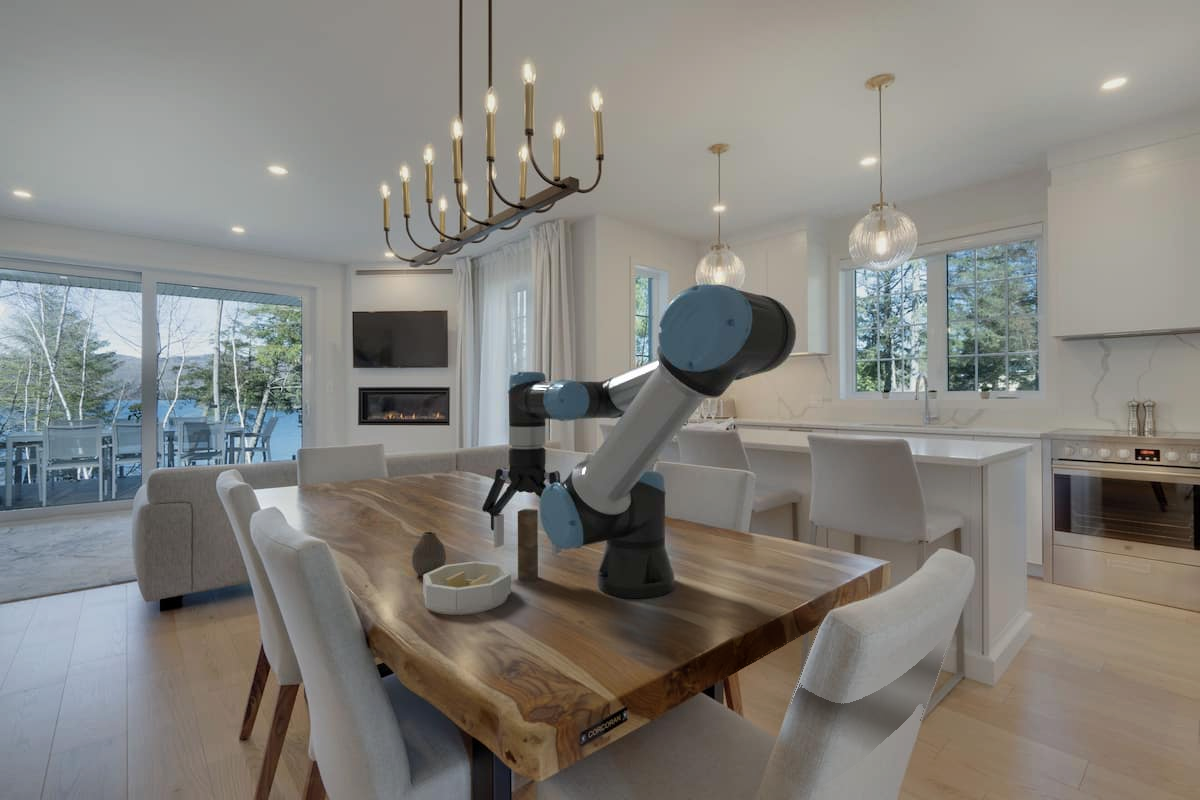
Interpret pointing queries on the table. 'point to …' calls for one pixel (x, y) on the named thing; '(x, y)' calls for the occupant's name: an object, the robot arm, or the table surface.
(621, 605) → the table surface
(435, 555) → the vase
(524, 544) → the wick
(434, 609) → the white octagonal bowl
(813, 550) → the table surface
